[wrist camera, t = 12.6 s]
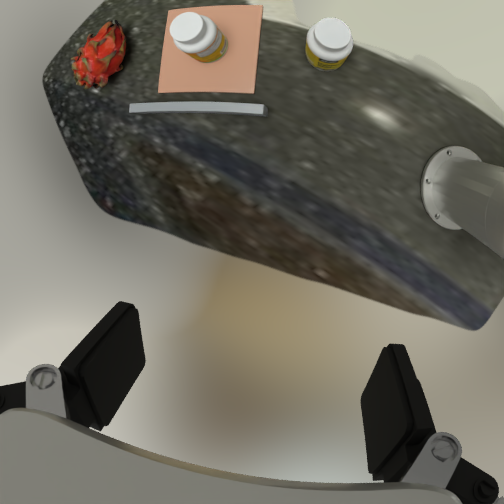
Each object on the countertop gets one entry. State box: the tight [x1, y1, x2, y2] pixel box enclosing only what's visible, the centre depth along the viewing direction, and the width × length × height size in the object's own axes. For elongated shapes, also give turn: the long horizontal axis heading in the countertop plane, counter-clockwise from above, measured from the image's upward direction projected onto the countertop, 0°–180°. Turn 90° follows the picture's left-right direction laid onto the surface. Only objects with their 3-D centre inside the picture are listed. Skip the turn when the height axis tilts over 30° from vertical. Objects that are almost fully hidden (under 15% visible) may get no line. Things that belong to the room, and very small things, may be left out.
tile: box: [158, 5, 263, 94], centre depth 35 cm, size 14×14×1 cm
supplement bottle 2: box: [305, 17, 353, 71], centre depth 29 cm, size 5×5×10 cm
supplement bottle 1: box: [170, 12, 228, 63], centre depth 30 cm, size 5×5×10 cm
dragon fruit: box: [71, 20, 126, 89], centre depth 33 cm, size 8×8×12 cm
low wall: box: [129, 102, 268, 117], centre depth 36 cm, size 18×1×5 cm, turn 85°
